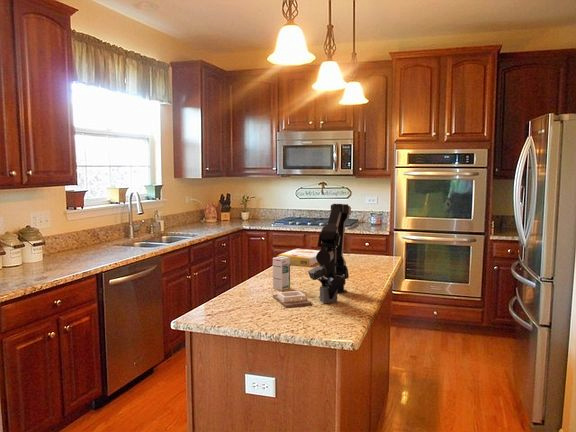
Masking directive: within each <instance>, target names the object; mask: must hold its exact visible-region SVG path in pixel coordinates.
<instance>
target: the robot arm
mask: <svg viewBox="0 0 576 432" xmlns="http://www.w3.org/2000/svg"><path fill="white" fill-rule="evenodd" d="M351 213H352V208H351V206H350V205H349V204H347V203H346V204H345V203H343V204H342V203H332V204H330V213H329V217H328V220H327V223H326V225H324V226H322V228H321V230H320V232H319V235H318V240H317V241H318V242H317V246H316V247H317V248H320V250H318V251H319V252H318V253H317V255H316V260H317V262H318V263H317V264H319V265H318V266H315V267H313V268H311V269H309V270H308V271H307V272H308V275H309V277H310V279H312V280H313V281H316V280H317V281H318V282H319V283H320V284H321V286H328V291H329V299H332V298H333V296H334V294H335V292H336V290H337V294H340V293H341V294H342V293H347V292H348V290H346V289H345V286H346V280H347V279H350V278H349V276H350V275H349V269H348V266H347V262H346V260H345V258H344V244H345V243H344V242H345V234H346V233H345V232H346V224H347V222H348V221H349V220H350V216H351Z"/></svg>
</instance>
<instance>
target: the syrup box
mask: <svg viewBox="0 0 576 432" xmlns="http://www.w3.org/2000/svg"><path fill="white" fill-rule="evenodd" d="M272 289H275V290H278V291H285V290H288V289H291V265H290V257H286V256H280V257H278V256H276V257H272Z"/></svg>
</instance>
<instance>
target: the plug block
mask: <svg viewBox="0 0 576 432" xmlns="http://www.w3.org/2000/svg"><path fill="white" fill-rule="evenodd" d="M319 302H321V303H323V304H331V303H332V304H333V303H338V293H337V290H336V292H335V294H334V296H333V298H332V299H329V291H328V286H322V285H320V286H319Z"/></svg>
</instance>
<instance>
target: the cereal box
mask: <svg viewBox="0 0 576 432" xmlns="http://www.w3.org/2000/svg"><path fill="white" fill-rule="evenodd" d="M319 251H320V250H315V249H303V248H294V249H292V250H288V251H286V252H282V253H279V254H277V257H280V256H286V257H290V266H297V265H298V266H299V267H306V268H307V267H309V266H310V267H311V265H312V266H313V264H314V265H316V264H318V263H317V260H316V255H317V253H318V252H319ZM315 263H316V264H315Z"/></svg>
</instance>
